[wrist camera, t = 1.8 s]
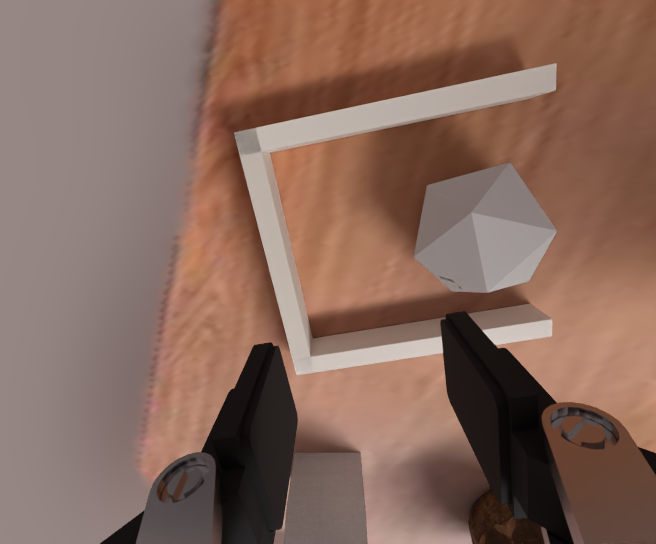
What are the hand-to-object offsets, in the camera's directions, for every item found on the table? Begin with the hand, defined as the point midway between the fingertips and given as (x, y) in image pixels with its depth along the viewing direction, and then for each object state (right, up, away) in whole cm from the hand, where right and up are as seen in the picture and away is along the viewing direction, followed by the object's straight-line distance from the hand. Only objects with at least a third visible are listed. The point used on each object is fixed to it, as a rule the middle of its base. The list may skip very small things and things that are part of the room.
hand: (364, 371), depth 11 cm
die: (+9, +7, +16) cm, 20 cm away
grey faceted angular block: (-1, -17, +24) cm, 30 cm away
